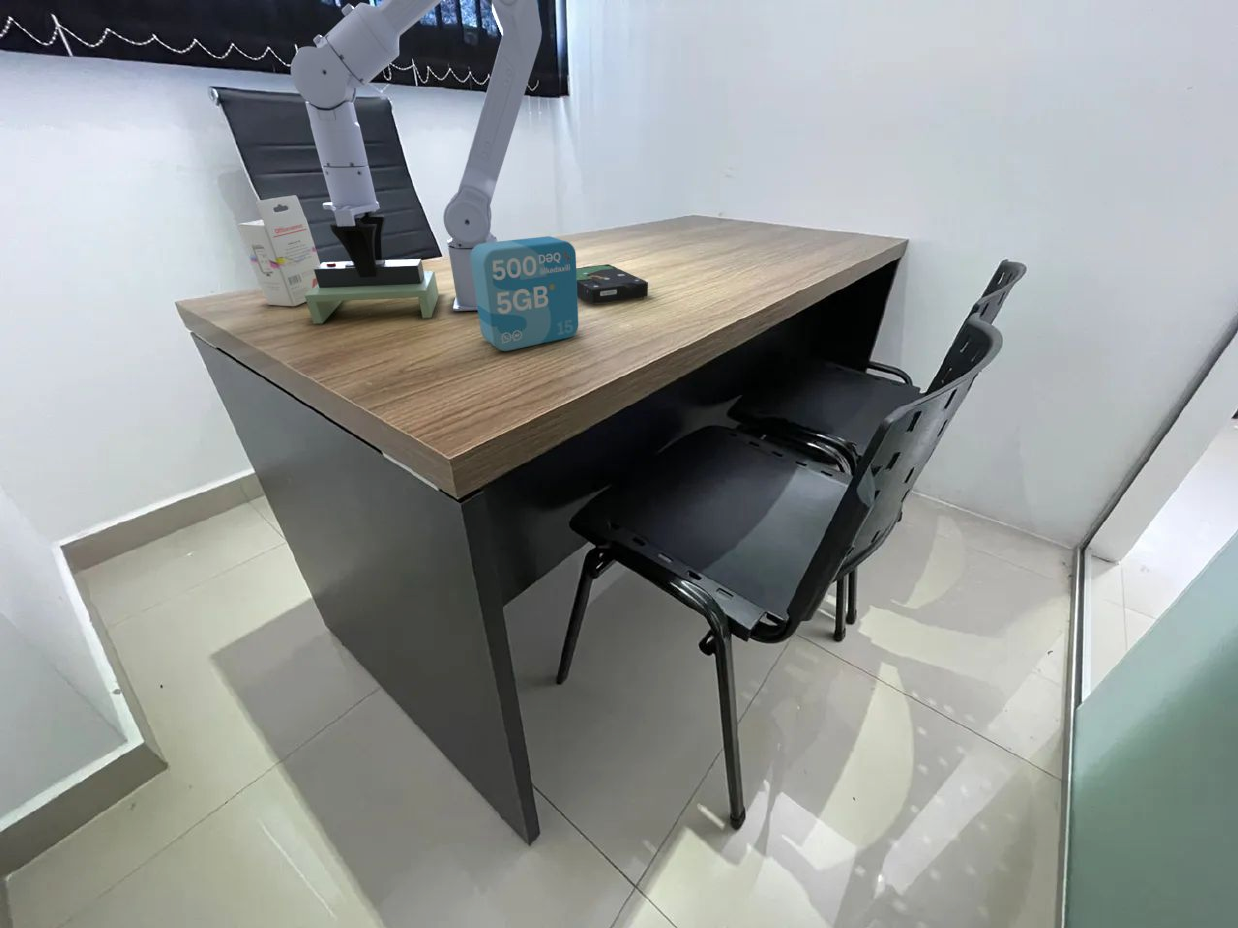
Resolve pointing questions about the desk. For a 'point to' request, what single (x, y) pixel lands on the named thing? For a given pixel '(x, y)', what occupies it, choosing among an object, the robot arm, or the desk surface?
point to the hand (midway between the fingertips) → (371, 272)
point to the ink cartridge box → (282, 251)
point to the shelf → (372, 296)
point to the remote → (385, 275)
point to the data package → (525, 291)
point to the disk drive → (608, 284)
